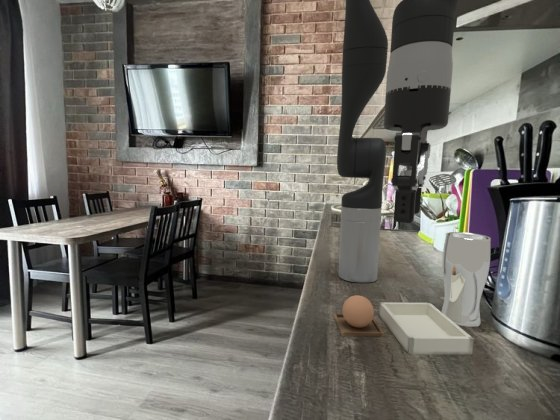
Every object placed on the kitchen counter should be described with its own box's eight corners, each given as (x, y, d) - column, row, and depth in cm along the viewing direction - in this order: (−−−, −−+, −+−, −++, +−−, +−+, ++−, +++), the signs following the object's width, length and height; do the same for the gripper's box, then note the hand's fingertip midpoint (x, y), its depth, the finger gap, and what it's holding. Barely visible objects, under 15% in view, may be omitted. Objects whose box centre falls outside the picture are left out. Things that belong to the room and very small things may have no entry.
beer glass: (442, 307, 60) (449, 230, 58) (485, 318, 55) (494, 235, 54) (433, 320, 54) (440, 235, 53) (480, 334, 50) (489, 242, 48)
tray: (378, 316, 55) (379, 302, 55) (428, 316, 56) (430, 302, 55) (408, 356, 43) (409, 338, 43) (472, 356, 44) (473, 338, 43)
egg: (338, 318, 54) (340, 290, 53) (367, 318, 54) (369, 290, 53) (345, 333, 49) (347, 302, 48) (377, 333, 49) (379, 303, 48)
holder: (333, 318, 54) (333, 313, 54) (370, 318, 55) (370, 313, 55) (341, 338, 48) (341, 333, 48) (384, 338, 48) (384, 333, 48)
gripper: (394, 102, 47) (387, 209, 50) (374, 79, 35) (366, 222, 37) (451, 98, 44) (440, 213, 46) (451, 70, 31) (437, 229, 34)
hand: (407, 217), depth 42 cm, fingers open, 8 cm apart
